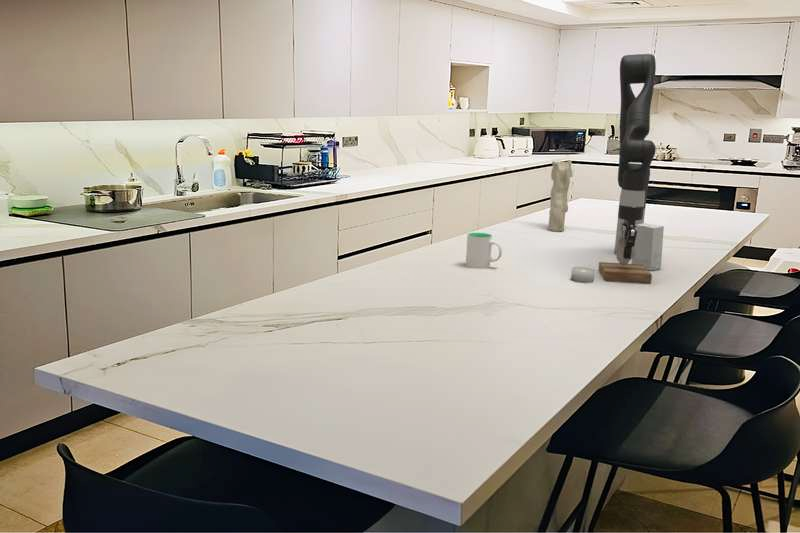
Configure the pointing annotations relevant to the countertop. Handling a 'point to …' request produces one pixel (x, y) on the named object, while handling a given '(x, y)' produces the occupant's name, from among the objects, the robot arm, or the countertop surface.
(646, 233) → the skincare box
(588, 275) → the pale grey round piece
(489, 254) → the mug
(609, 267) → the walnut block
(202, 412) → the countertop surface
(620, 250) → the grey rock
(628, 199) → the robot arm
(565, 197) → the beige tall lumpy column
